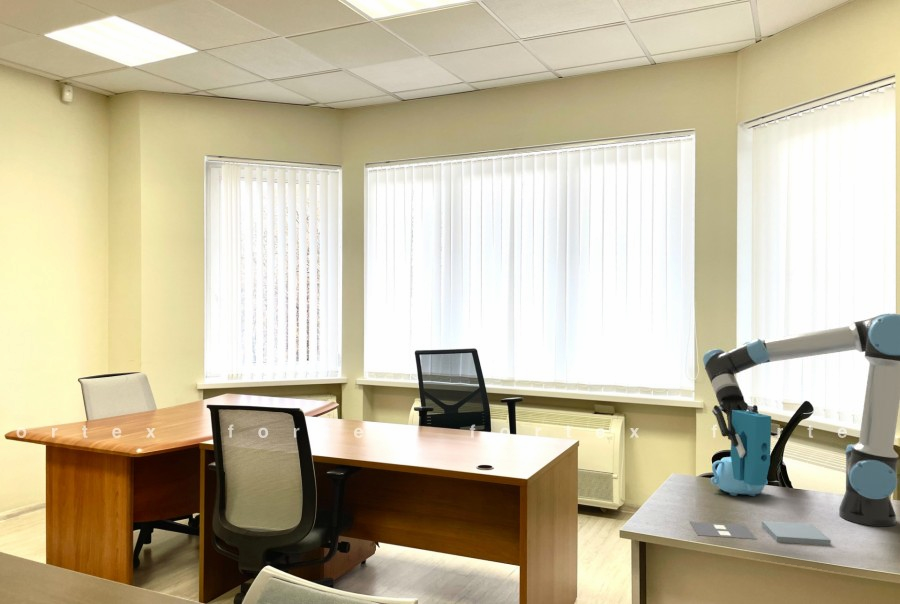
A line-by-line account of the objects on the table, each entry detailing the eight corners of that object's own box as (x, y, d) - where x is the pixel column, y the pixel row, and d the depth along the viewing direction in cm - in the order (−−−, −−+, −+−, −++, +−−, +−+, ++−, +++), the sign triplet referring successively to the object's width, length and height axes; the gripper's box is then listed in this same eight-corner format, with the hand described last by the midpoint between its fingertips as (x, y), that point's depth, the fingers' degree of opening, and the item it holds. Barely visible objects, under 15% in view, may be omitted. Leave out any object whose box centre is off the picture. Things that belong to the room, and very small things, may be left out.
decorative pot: (748, 501, 225) (748, 461, 226) (705, 490, 238) (706, 452, 238) (772, 494, 235) (773, 456, 235) (730, 484, 248) (731, 447, 248)
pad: (811, 528, 198) (811, 523, 198) (830, 545, 184) (830, 539, 184) (761, 525, 200) (761, 520, 200) (776, 541, 186) (776, 536, 186)
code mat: (745, 526, 200) (745, 525, 200) (756, 539, 188) (756, 538, 188) (689, 522, 202) (689, 521, 202) (697, 536, 190) (697, 534, 190)
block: (770, 486, 189) (772, 416, 190) (755, 487, 188) (757, 416, 189) (742, 476, 201) (744, 410, 201) (728, 476, 200) (730, 410, 200)
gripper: (752, 398, 212) (779, 461, 196) (695, 399, 212) (718, 462, 195) (760, 384, 207) (789, 447, 191) (702, 384, 207) (725, 448, 190)
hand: (753, 454), depth 193 cm, fingers closed on block, 5 cm apart
